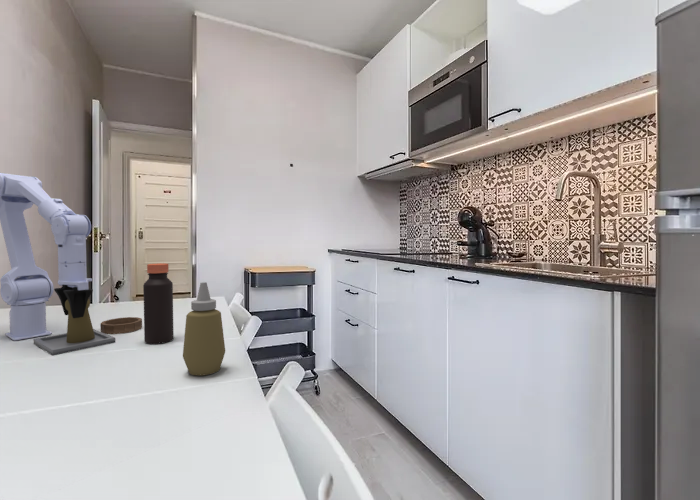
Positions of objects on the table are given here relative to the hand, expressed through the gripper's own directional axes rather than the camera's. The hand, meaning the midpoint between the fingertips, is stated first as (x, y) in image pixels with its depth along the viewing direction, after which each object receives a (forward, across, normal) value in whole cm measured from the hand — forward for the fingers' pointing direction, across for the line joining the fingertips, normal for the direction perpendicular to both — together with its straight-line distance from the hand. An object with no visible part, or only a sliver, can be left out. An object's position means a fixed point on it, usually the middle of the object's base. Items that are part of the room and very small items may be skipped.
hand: (74, 316), depth 94 cm
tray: (+7, 0, 0) cm, 7 cm away
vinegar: (+7, -15, -14) cm, 22 cm away
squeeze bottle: (+7, -44, -9) cm, 45 cm away
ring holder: (+7, +5, -13) cm, 16 cm away
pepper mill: (+6, 0, -1) cm, 7 cm away
